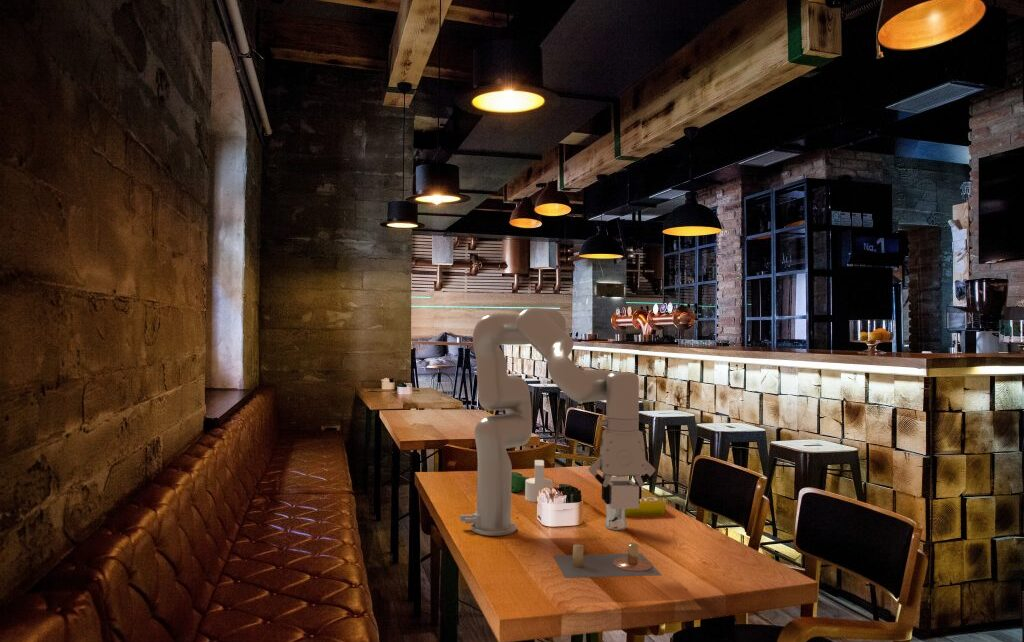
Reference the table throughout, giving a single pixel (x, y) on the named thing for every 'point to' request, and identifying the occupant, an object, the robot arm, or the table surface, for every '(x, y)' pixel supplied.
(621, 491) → the steel collar
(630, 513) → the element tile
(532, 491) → the cylinder with rectangular tab
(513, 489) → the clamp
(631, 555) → the peg on flat base
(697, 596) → the table surface
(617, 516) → the beer glass
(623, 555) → the stand board
